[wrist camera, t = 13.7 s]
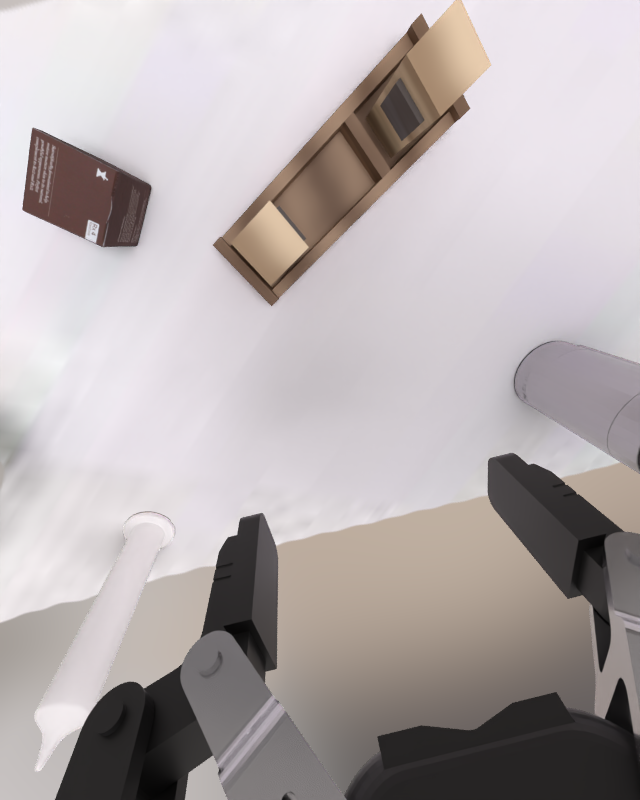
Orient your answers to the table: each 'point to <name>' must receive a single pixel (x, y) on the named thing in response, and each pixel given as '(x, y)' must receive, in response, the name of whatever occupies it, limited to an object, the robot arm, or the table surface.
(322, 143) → the rail
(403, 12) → the table surface
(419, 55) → the block
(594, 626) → the robot arm
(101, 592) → the candle
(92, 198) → the box
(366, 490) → the table surface
